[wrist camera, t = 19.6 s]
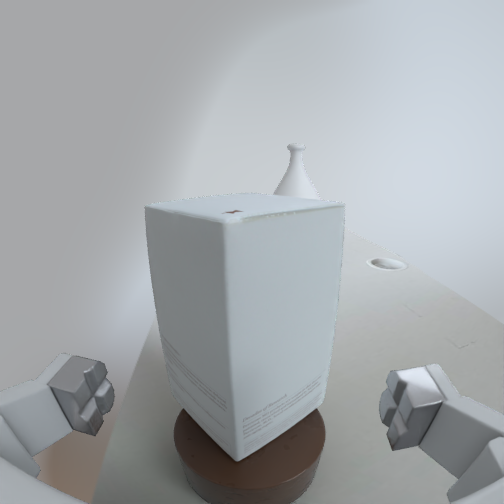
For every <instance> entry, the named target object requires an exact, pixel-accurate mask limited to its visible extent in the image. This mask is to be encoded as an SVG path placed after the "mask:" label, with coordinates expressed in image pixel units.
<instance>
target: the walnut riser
mask: <svg viewBox="0 0 504 504" xmlns="http://www.w3.org/2000/svg"><path fill="white" fill-rule="evenodd" d="M325 433H326V432H325V425H324V422H323V418H322V416H321V415H320V413H319V411H318V410H317V408H316V409H315V410H313V411H312V412H311V413H309V414H308V415H307V416H306V417H304V418H303V419H302V420H300V421H299V422H298V423H296V424H295V425H294V426H292V427H291V428H289V429H288V430H287V431H285V432H284V433H282V434H281V435H279V436H278V437H276V438H275V439H274V440H272V441H270V442H269V443H267V444H266V445H264V446H263V447H261V448H260V449H258V450H257V451H255V452H253V453H252V454H250V455H248V456H247V457H245V458H243V459H241V460H240V461H235V460H234V459H233V458H232V457H231V456H230V455H229V454H227V453H226V452H225V451H224V450H223V449H222V448H221V447H220V446H219V445H218V444H217V443H216V442H215V441H214V440H213V439H212V438H211V437H210V436H209V435H208V434H207V433H206V432H205V431H204V430H203V429H202V428H201V427H200V426H199V424H198V423H197V422H196V421H195V420H194V419H193V418H192V417H191V416H190V415H189V414H188V413H187V411H186V410H185V409H184V408H183V409H182V410H181V412H180V414H179V415H178V417H177V420H176V423H175V427H174V441H175V446H176V449H177V452H178V455H179V458H180V461H181V463H182V466H183V469H184V472H185V474H186V477H187V479H188V482H189V483H190V485H191V486H192V488H193V489H194V490H195V491H196V493H197V494H198V495H199V496H201V497H202V498H203V499H204V500H206V501H207V502H209V503H210V504H290V503H291V502H293V501H295V500H296V499H297V498H298V497H300V496H301V495H302V494H303V493H304V492H305V491H306V490H307V488H308V487H309V485H310V484H311V482H312V480H313V478H314V475H315V472H316V469H317V466H318V463H319V460H320V456H321V453H322V450H323V446H324V442H325Z"/></svg>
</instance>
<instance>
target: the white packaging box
mask: <svg viewBox="0 0 504 504" xmlns="http://www.w3.org/2000/svg"><path fill="white" fill-rule="evenodd" d="M145 221H146V236H147V247H148V256H149V264H150V273H151V280H152V288H153V294H154V301H155V307H156V314H157V320H158V326H159V331H160V337H161V342H162V348H163V353H164V357H165V362H166V368H167V373H168V377H169V382H170V387H171V391H172V395H173V396H174V397H175V399H176V400H177V401H178V402H179V403H180V405H181V406H182V407H183V408H184V409H185V410H186V411H187V413H188V414H189V415H190V416H191V417H192V418H193V419H194V420H195V421H196V422H197V423H198V424H199V426H200V427H201V428H202V429H203V430H204V431H205V432H206V433H207V434H208V435H209V436H210V437H211V438H212V439H213V440H214V441H215V442H216V443H217V444H218V445H219V446H220V447H221V448H222V449H223V450H224V451H225V452H226V453H227V454H229V455H230V456H231V457H232V458H233V459H234V460H235V461H240V460H241V459H243V458H245V457H247V456H248V455H250V454H252V453H253V452H255V451H257V450H258V449H260V448H261V447H263V446H264V445H266V444H267V443H269V442H270V441H272V440H274V439H275V438H276V437H278V436H279V435H281V434H282V433H284V432H285V431H287V430H288V429H289V428H291V427H292V426H294V425H295V424H296V423H298V422H299V421H300V420H302V419H303V418H304V417H306V416H307V415H308V414H309V413H311V412H312V411H313V410H315V409H316V408H317V407H318V406H319V405H320V404H322V403H323V401H324V397H325V391H326V385H327V379H328V374H329V368H330V361H331V355H332V348H333V341H334V333H335V325H336V317H337V309H338V301H339V291H340V281H341V268H342V255H343V241H344V221H345V204H344V203H342V202H333V201H325V200H316V199H307V198H299V197H290V196H280V195H269V194H257V193H238V194H226V195H215V196H206V197H198V198H189V199H182V200H174V201H167V202H161V203H155V204H149V205H146V206H145Z"/></svg>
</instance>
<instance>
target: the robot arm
mask: <svg viewBox="0 0 504 504" xmlns="http://www.w3.org/2000/svg"><path fill="white" fill-rule="evenodd" d="M107 373H108V372H107V369H106V367H105V364H104V363H102V362H100V361H96V360H92V359H88V358H83V357H79V356H74V355H70V354H66V353H61V354H59V355H58V356H57V357H56V358H55V359H54V361H52V362H51V363H50V364H49V365H48V367H47V368H46V369H45V370H44V371H43V372H42V373H41V374H40V375H39V376H38V377H37V378H36V379H35V380H29V381H26V382H23V383H21V384H18V385H16V386H13V387H10V388H8V389H5V390H2V391H0V504H89V503H87V502H84V501H82V500H79V499H77V498H75V497H73V496H70V495H68V494H66V493H63V492H62V491H60V490H58V489H55V488H53V487H51V486H50V485H48V484H46V483H44V482H42V481H40V480H38V479H36V477H37V476H38V474H39V472H40V471H41V470H40V467H39V465H38V464H37V463H36V462H35V461H34V460H33V458H32V457H33V456H35V455H36V454H38V453H39V452H41V451H42V450H44V449H46V448H47V447H49V446H51V445H52V444H54V443H55V442H57V441H58V440H60V439H61V438H63V437H64V436H66V435H68V434H69V433H71V432H72V431H73V430H76V431H80V432H83V433H86V434H89V435H93V436H96V434H97V433H98V431H99V429H100V427H101V425H102V424H103V422H104V420H103V416H102V415H104V414H106V413H108V412H109V411H110V410H111V408H112V406H113V402H114V389H113V387H112V384H111V383H110V382H109V380H108V379H107V378H106V375H107ZM386 383H387V385H388V388H387V389H386V390H385V391H384V392H383V393H382V395H381V399H380V404H379V412H380V417H381V420H382V423H383V424H385V425H386V426H388V427H389V429H388V432H387V437H388V440H389V443H390V445H391V448H392V451H394V450H400V449H405V448H409V447H414V446H418V445H419V446H418V447H419V448H420V449H422V450H423V451H424V452H425V453H426V454H428V455H429V456H430V457H431V458H433V459H434V460H435V461H436V462H438V463H439V464H440V465H441V466H442V467H444V468H445V469H446V470H447V471H449V472H450V473H451V474H453V475H454V476H455V477H456V478H458V480H457V482H456V483H455V484H454V485H453V486H452V487H451V488H450V489H449V491H448V492H447V496H448V499H449V502H450V503H449V504H504V414H502V413H500V412H498V411H496V410H494V409H492V408H490V407H488V406H486V405H484V404H481V403H479V402H477V401H475V400H473V399H471V398H469V397H467V396H463V397H462V396H461V395H460V394H459V392H458V391H457V389H456V388H455V386H454V385H453V383H452V382H451V381H450V379H449V378H448V376H447V375H446V374H445V372H444V371H443V369H442V368H441V367H440V365H438V364H436V363H435V364H430V365H425V366H421V367H415V368H408V369H402V370H394V371H391V372H390V373H389V375H388V377H387V380H386Z"/></svg>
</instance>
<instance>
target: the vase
mask: <svg viewBox="0 0 504 504" xmlns="http://www.w3.org/2000/svg"><path fill="white" fill-rule="evenodd" d="M287 148H288V149H289V150H290V152H291V158H290V163H289V167H288V169H287V172H286V173H285V175H284V177H283V179H282V180H281V182H280V184H279V185H278V187H277V189H276V190H275V192H274V194H273V195H280V196H290V197H299V198H307V199H316V200H321V198H320V196H319V194H318V192H317V191H316V189H315V187H314V185H313V183H312V182H311V180H310V178H309V176H308V174H307V172H306V170H305V168H304V165H303V159H302V152H303V150H305V145H303V144H289V145H288V146H287Z"/></svg>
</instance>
